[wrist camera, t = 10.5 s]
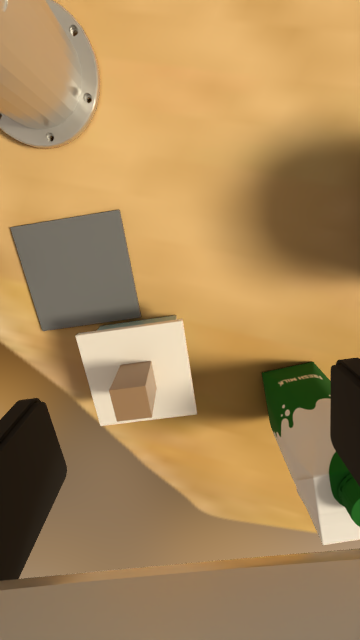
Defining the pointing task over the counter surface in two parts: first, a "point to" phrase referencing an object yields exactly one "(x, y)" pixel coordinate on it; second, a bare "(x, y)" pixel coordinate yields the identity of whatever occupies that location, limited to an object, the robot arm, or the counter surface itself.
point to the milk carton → (313, 449)
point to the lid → (138, 372)
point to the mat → (78, 270)
